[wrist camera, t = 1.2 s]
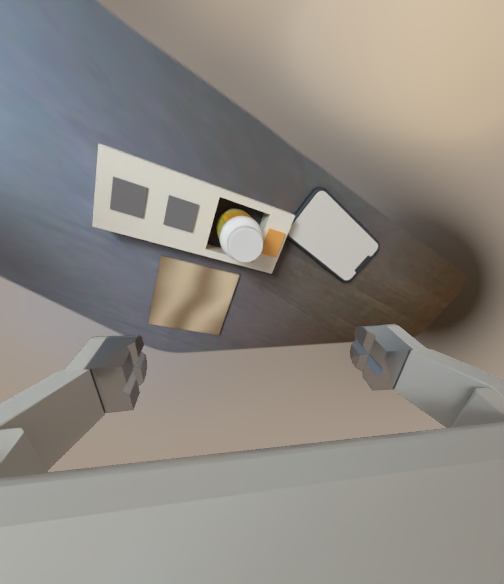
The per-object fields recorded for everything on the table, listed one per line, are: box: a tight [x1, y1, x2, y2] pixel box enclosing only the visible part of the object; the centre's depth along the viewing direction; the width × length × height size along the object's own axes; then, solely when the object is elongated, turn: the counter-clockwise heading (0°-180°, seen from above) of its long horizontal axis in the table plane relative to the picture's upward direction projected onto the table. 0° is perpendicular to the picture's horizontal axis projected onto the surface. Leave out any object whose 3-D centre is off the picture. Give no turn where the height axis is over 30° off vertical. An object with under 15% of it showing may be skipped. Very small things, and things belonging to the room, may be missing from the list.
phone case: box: [287, 187, 380, 282], centre depth 38 cm, size 9×2×16 cm
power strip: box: [92, 144, 295, 274], centre depth 31 cm, size 24×9×4 cm, turn 71°
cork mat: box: [148, 255, 239, 335], centre depth 38 cm, size 12×12×1 cm
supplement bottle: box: [216, 208, 263, 263], centre depth 30 cm, size 5×5×10 cm
